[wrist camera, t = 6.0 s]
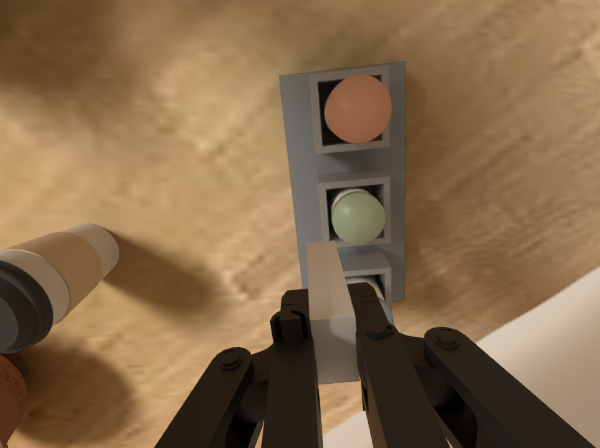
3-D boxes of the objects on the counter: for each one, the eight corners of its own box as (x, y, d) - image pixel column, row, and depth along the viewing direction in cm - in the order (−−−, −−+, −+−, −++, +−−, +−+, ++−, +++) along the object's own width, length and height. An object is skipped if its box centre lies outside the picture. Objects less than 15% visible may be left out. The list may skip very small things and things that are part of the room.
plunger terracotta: (320, 87, 28) (324, 78, 22) (372, 81, 27) (391, 71, 21) (324, 141, 29) (329, 146, 23) (374, 136, 29) (391, 140, 23)
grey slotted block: (281, 79, 33) (274, 67, 25) (396, 66, 32) (424, 50, 25) (304, 295, 41) (304, 335, 33) (397, 288, 40) (418, 327, 33)
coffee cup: (133, 227, 38) (32, 291, 24) (123, 289, 41) (27, 379, 27) (58, 205, 38) (-91, 257, 23) (53, 270, 40) (-83, 351, 26)
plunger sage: (326, 183, 33) (330, 196, 27) (370, 178, 32) (384, 191, 27) (329, 224, 34) (334, 246, 28) (371, 220, 34) (385, 242, 28)
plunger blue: (333, 271, 33) (340, 303, 27) (377, 267, 33) (393, 299, 27) (336, 308, 35) (343, 347, 29) (378, 305, 34) (393, 343, 28)
